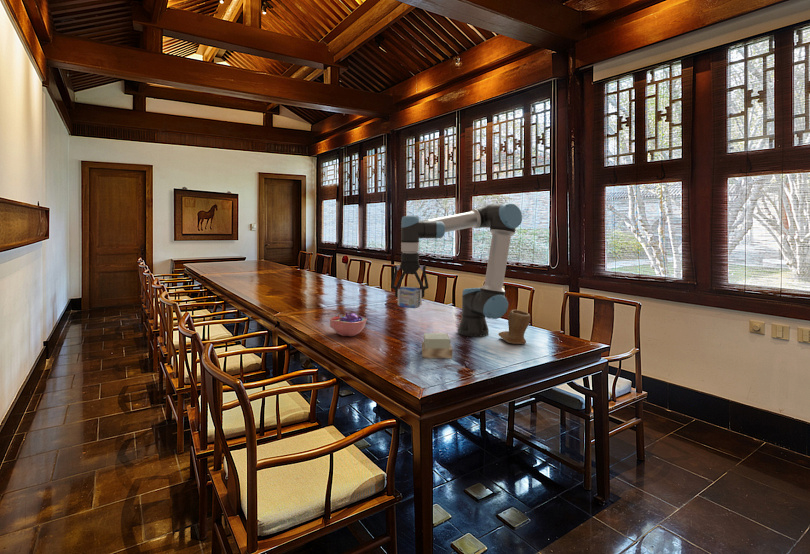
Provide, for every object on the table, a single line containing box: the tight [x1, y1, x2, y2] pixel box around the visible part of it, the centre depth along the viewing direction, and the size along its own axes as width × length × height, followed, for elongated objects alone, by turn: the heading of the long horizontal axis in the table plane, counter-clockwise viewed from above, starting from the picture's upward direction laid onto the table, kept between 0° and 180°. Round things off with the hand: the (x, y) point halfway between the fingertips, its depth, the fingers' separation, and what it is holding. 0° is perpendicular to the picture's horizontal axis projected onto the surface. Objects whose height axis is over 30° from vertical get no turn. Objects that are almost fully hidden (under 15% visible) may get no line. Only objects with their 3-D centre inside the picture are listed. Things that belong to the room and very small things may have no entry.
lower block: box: [421, 341, 454, 359], centre depth 188 cm, size 12×12×4 cm
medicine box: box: [398, 286, 421, 309], centre depth 194 cm, size 8×4×9 cm, turn 61°
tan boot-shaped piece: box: [498, 309, 531, 345], centre depth 209 cm, size 15×12×15 cm
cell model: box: [329, 312, 368, 337], centre depth 219 cm, size 17×20×11 cm
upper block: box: [423, 332, 451, 349], centre depth 188 cm, size 10×10×4 cm
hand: (409, 304), depth 194 cm, fingers closed on medicine box, 9 cm apart
